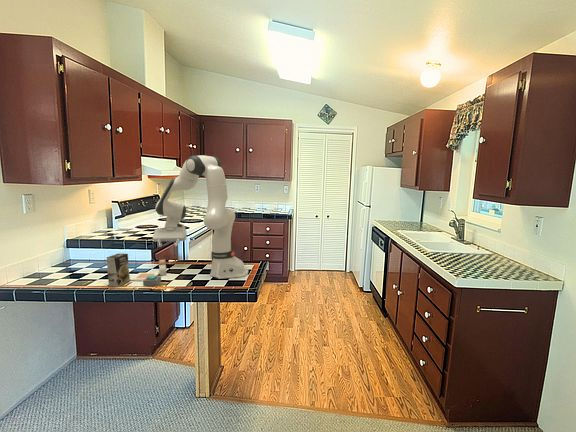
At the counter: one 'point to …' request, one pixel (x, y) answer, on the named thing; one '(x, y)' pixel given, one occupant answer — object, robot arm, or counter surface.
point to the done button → (152, 277)
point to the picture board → (143, 276)
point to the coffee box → (118, 270)
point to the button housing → (152, 281)
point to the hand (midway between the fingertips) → (167, 246)
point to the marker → (162, 267)
